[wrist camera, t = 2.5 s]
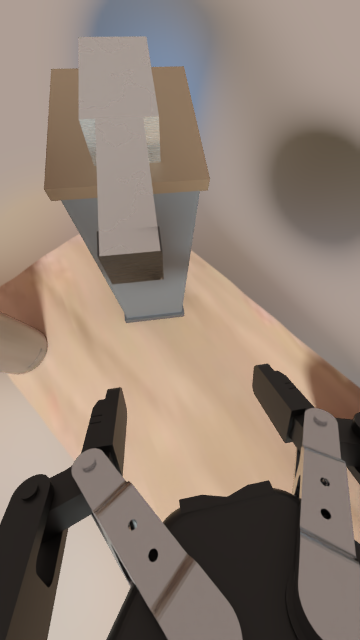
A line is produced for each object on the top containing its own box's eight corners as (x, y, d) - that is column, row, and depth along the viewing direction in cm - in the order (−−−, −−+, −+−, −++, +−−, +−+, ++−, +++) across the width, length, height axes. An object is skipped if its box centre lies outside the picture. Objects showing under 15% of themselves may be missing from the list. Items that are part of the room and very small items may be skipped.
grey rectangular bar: (91, 89, 19) (78, 37, 17) (149, 87, 20) (146, 36, 17) (97, 285, 14) (78, 258, 11) (177, 277, 14) (180, 249, 11)
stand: (122, 264, 50) (51, 68, 20) (175, 259, 51) (183, 66, 21) (126, 322, 46) (43, 189, 16) (183, 316, 47) (209, 178, 17)
